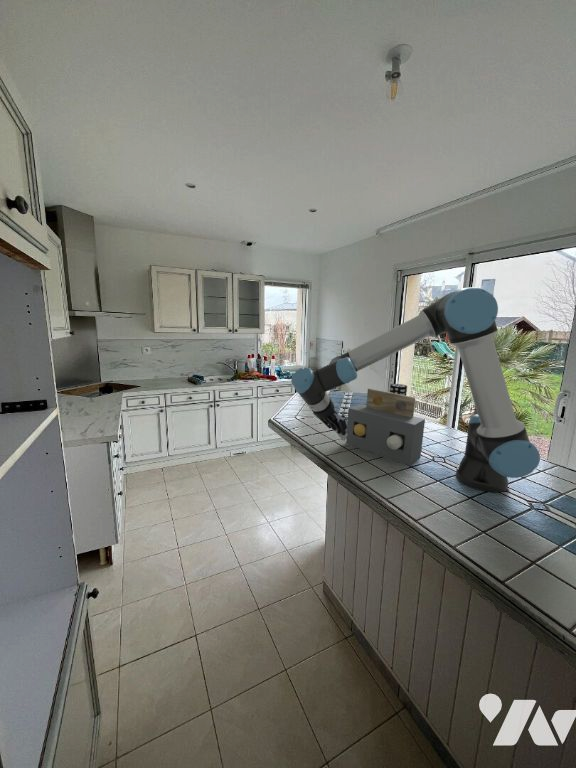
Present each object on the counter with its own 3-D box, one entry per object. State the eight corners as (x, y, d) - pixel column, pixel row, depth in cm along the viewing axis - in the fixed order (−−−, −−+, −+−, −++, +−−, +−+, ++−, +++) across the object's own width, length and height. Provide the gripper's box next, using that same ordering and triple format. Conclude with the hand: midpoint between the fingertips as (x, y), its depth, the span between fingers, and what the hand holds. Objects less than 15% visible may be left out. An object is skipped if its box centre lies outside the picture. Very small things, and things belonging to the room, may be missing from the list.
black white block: (404, 421, 167) (408, 385, 163) (401, 426, 160) (405, 387, 156) (389, 418, 171) (392, 383, 167) (384, 422, 164) (388, 385, 160)
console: (409, 465, 116) (414, 424, 113) (346, 443, 135) (348, 408, 132) (420, 457, 123) (425, 419, 120) (358, 438, 142) (361, 404, 139)
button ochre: (363, 437, 128) (364, 425, 127) (353, 434, 131) (354, 422, 130) (368, 435, 130) (369, 424, 129) (357, 432, 133) (358, 421, 132)
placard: (411, 418, 120) (414, 398, 119) (365, 407, 134) (367, 388, 132) (413, 417, 121) (415, 397, 120) (367, 406, 135) (368, 388, 133)
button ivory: (398, 451, 115) (400, 438, 114) (386, 447, 118) (387, 434, 117) (402, 448, 118) (404, 436, 117) (390, 444, 121) (391, 432, 120)
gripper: (300, 408, 109) (326, 440, 124) (330, 416, 100) (354, 450, 116) (310, 391, 112) (335, 425, 127) (341, 398, 103) (363, 433, 118)
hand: (344, 437), depth 121 cm, fingers closed
